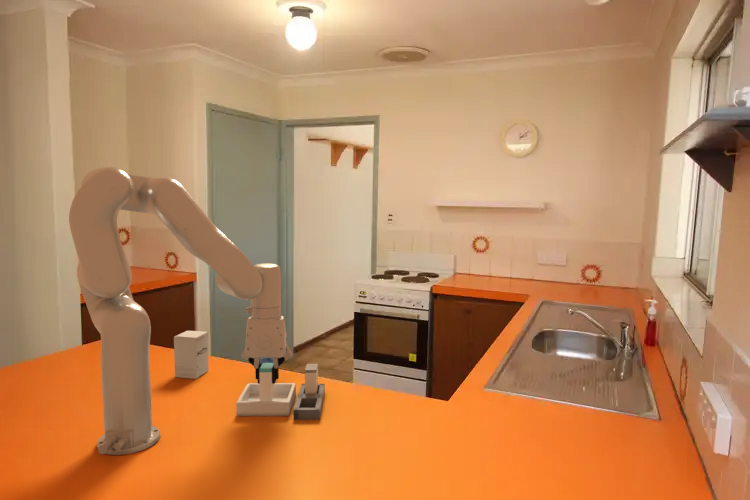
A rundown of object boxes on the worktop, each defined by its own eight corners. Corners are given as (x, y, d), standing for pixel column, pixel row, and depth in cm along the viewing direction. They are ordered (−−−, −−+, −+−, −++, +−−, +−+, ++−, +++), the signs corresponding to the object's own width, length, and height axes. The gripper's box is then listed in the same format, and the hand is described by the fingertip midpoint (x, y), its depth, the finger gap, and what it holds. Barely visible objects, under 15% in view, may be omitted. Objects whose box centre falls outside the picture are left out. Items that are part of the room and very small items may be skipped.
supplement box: (196, 379, 153) (195, 337, 152) (174, 377, 155) (172, 336, 153) (209, 371, 160) (208, 331, 159) (187, 369, 162) (186, 329, 160)
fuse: (316, 402, 137) (316, 370, 136) (305, 402, 137) (304, 370, 136) (318, 394, 142) (317, 363, 141) (307, 394, 142) (306, 363, 141)
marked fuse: (271, 402, 132) (271, 369, 131) (259, 402, 132) (259, 369, 131) (274, 395, 137) (274, 362, 136) (263, 395, 137) (263, 362, 136)
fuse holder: (319, 419, 127) (319, 409, 126) (293, 419, 126) (293, 409, 126) (324, 392, 144) (324, 383, 144) (301, 392, 144) (301, 383, 143)
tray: (289, 415, 129) (289, 402, 128) (236, 416, 128) (236, 402, 128) (295, 395, 141) (295, 383, 141) (248, 395, 141) (247, 383, 141)
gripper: (230, 315, 128) (231, 387, 130) (296, 315, 129) (297, 387, 131) (237, 308, 136) (238, 376, 138) (300, 309, 136) (300, 376, 138)
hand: (267, 381), depth 134 cm, fingers closed on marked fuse, 3 cm apart
